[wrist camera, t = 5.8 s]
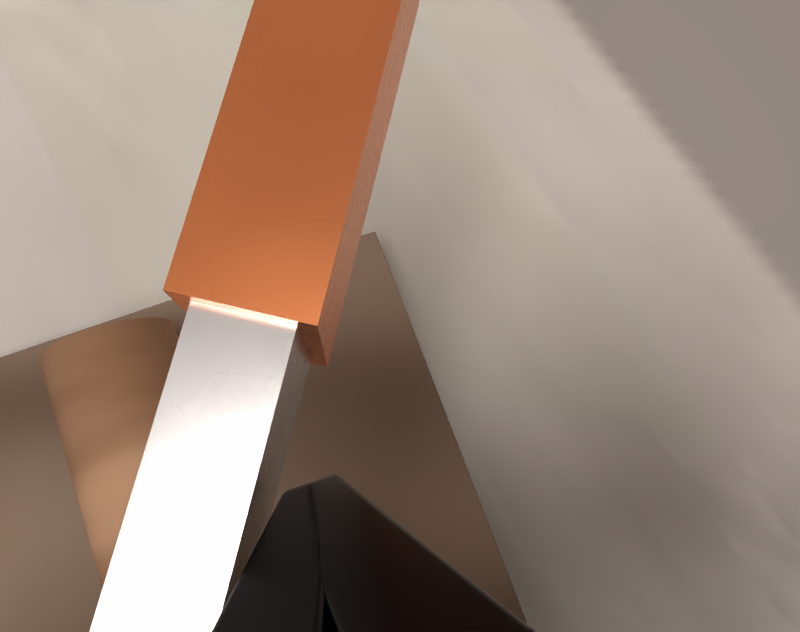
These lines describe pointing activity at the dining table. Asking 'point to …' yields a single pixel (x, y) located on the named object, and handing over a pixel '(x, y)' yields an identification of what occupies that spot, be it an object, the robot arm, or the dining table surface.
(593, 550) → the dining table surface
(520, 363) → the dining table surface
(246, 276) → the valve lever
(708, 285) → the dining table surface
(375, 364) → the valve stand
